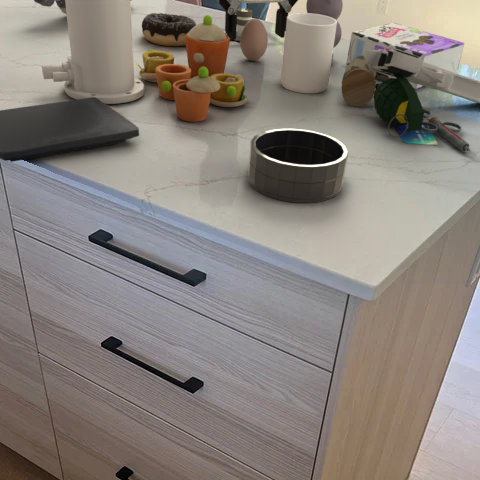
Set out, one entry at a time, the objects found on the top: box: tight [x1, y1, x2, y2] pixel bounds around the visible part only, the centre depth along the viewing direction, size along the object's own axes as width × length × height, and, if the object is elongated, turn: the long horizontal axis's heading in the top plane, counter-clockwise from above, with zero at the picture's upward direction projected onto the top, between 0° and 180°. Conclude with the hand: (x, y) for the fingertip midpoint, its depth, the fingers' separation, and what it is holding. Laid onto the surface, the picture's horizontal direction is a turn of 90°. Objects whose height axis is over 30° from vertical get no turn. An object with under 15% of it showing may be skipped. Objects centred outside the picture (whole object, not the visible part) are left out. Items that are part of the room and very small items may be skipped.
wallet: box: [0, 97, 140, 163], centre depth 87 cm, size 20×2×15 cm
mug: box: [340, 56, 390, 107], centre depth 107 cm, size 8×6×12 cm
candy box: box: [346, 22, 465, 90], centre depth 119 cm, size 14×6×16 cm
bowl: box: [247, 128, 349, 204], centre depth 80 cm, size 12×12×4 cm
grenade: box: [373, 74, 425, 139], centre depth 97 cm, size 6×7×12 cm
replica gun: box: [364, 49, 480, 104], centre depth 103 cm, size 29×16×3 cm, turn 97°
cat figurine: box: [305, 0, 344, 64], centre depth 118 cm, size 8×8×12 cm
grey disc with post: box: [224, 7, 253, 42], centre depth 130 cm, size 12×12×5 cm
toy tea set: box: [135, 14, 248, 123], centre depth 100 cm, size 26×16×10 cm, turn 20°
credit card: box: [394, 123, 439, 146], centre depth 97 cm, size 8×5×1 cm, turn 0°
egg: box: [239, 18, 269, 62], centre depth 117 cm, size 5×5×7 cm
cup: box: [280, 12, 338, 94], centre depth 108 cm, size 8×12×10 cm
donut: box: [141, 12, 197, 47], centre depth 125 cm, size 11×12×4 cm
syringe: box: [421, 108, 476, 156], centre depth 97 cm, size 8×18×2 cm, turn 18°
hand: (255, 36), depth 117 cm, fingers open, 9 cm apart
